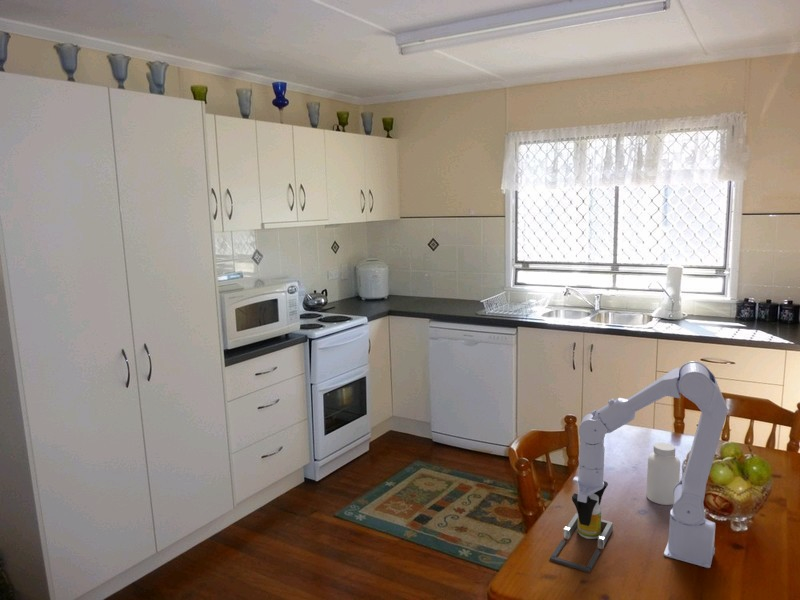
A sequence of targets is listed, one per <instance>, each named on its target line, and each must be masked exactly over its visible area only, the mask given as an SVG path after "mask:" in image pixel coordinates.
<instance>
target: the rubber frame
mask: <svg viewBox="0 0 800 600" xmlns="http://www.w3.org/2000/svg"><path fill="white" fill-rule="evenodd" d="M566 544H567V543H566V540H564V539H560V542H558V544H557V546H556V547H555V549H554V551H553V552H552V554H551V555H550V556H549V561H551V562H554V563H557V564H560V565H564V566H566V567H570V568H573V569H577V570H580V571H582V572H587V573H589V574H590V573H591V571H592V569H593V568H594V565H596V562H597V560H598V558H599V556H600V554H601V550H599V549H595V551H593V554H592V556H591V558H590V559H589V561H588V563H587V565H583V564H580V563H577V562H573V561H570V560H568V559H563V558H560V557H558V556H559V555H560V553H561V551H562V549H563V548H564V547H565V545H566Z"/></svg>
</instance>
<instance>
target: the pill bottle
mask: <svg viewBox="0 0 800 600" xmlns="http://www.w3.org/2000/svg"><path fill="white" fill-rule="evenodd" d="M680 472H681V460H680V458H679V457H677V455H676V447H675V445H673V444H671V443H669V442H656V443H654V444H653V452H651V453H650V454H649V455H648V457H647V471H646V473H647V474H646V486H645V487H646V488H645V489H646V491H645V493H646V494H645V495H646V498H648V500H649V501H651V502H652V503H655V504H658V505H663V506H670V505H672V506H673V505H674V495H673V490H674V487H675V485H676V484H677V483H679V482H680V474H681V473H680Z"/></svg>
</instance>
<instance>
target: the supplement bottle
mask: <svg viewBox="0 0 800 600" xmlns="http://www.w3.org/2000/svg"><path fill="white" fill-rule="evenodd" d="M589 498H590V499H593V500H597V501H598V502H597V503H596V505H595V507H594V509H593V512H592V517H591V522H590V525H589V526H586V525H582V524H580V521H579V517H578V525H577V534H578V535H579V536H581V537H582V538H584V539H587V540H595V539H598V537H599V536H601V534H602V529H601V519H602V506H601V504H600V505H599V504H598V503H599V497H598V496H597V495H596V494H591V495H589Z"/></svg>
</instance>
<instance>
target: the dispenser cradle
mask: <svg viewBox="0 0 800 600" xmlns="http://www.w3.org/2000/svg"><path fill="white" fill-rule="evenodd" d="M577 527H578V512H575V514H574V515H573V517H572V518H571V520H570V521H569V522H568V524H567V526H564V528H563V539H565V540H570V538H571V536H572V534H573V533H574V531H575V530H576V528H577ZM613 527H614V523H613V522H612V521H609V520H606V519H602V518H601V530H603V531H601V534H600V536H599V537H598V538H597V549H600V550H604V548H605V545H606V543H607V541H608V540H609V538H610V535H611V533H612V531H613Z"/></svg>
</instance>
